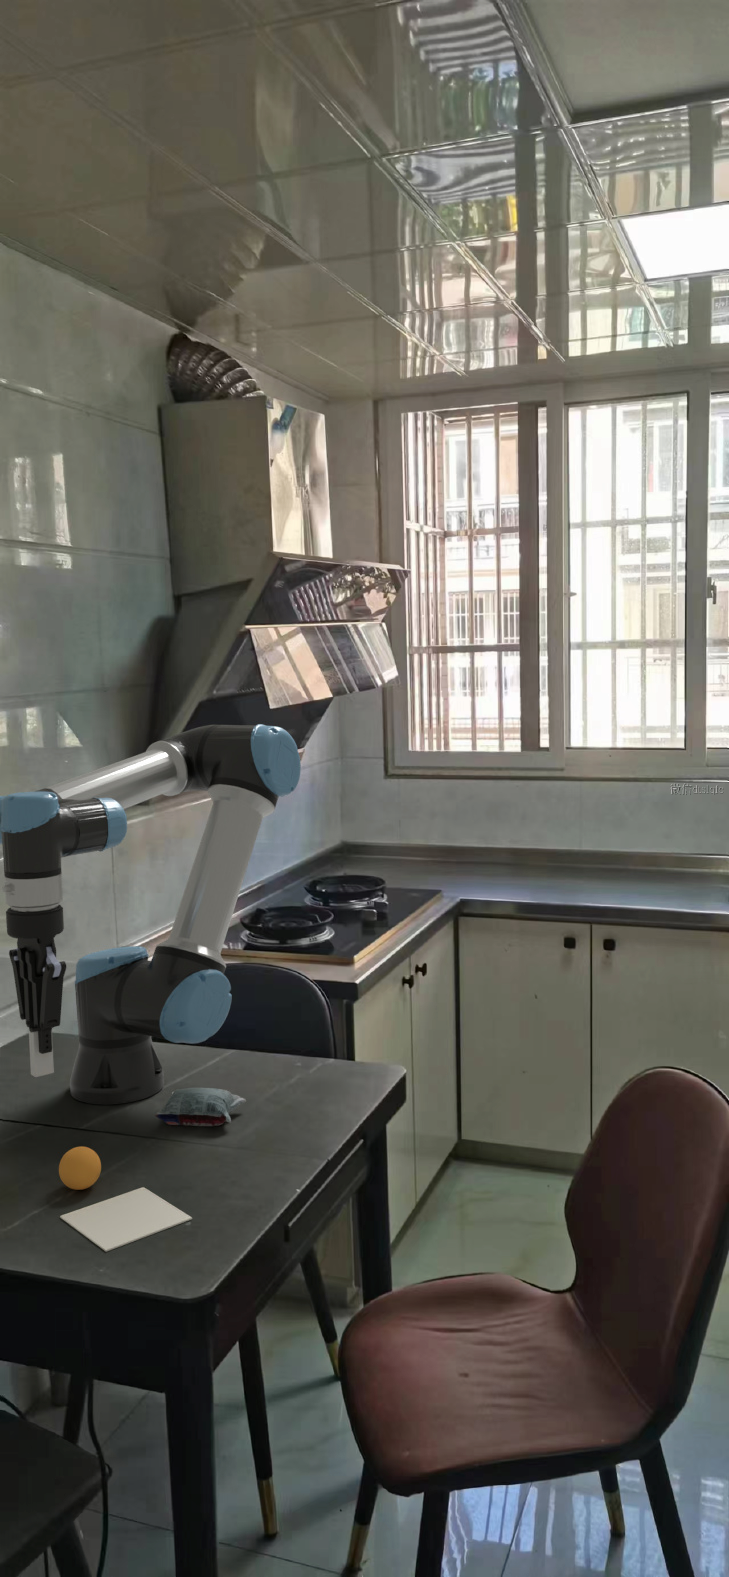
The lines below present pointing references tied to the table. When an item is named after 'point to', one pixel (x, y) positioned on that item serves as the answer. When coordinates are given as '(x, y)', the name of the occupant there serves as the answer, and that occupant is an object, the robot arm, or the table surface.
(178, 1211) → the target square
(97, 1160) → the ball
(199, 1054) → the table surface
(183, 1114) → the packaged food
